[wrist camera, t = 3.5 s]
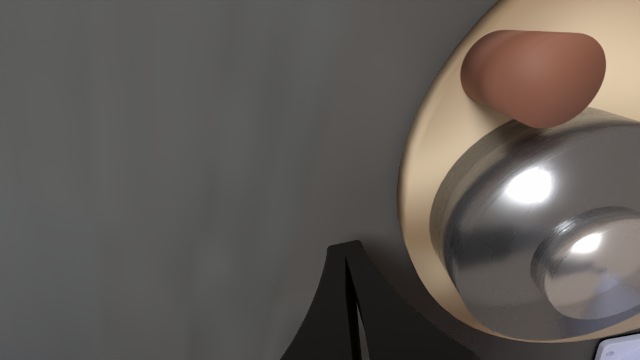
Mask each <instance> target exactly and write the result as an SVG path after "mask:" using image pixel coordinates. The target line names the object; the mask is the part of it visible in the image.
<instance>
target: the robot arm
mask: <svg viewBox="0 0 640 360" xmlns="http://www.w3.org/2000/svg"><path fill="white" fill-rule="evenodd" d="M356 302H357V304H356ZM357 305H358V309H359V312H360V316H361V319H362V322H363V326H364V329H365V334H366V340H367V345H368V351H369V356H370V360H480V358H479V357H478V356H477V355H476V354H475V353H474V352H473V351H471V350H469V349H468V348H466V347H465V346H463V345H461V344H460V343H458V342H457V341H455V340H454V339H452V338H451V337H449V336H448V335H447V334H445V333H444V332H442V331H441V330H440V329H438V328H437V327H436V326H434V325H433V324H432V323H431V322H429V321H428V320H427V319H426V318H424V317H423V316H422V315H421V314H420V313H418V312H417V311H416V310H415V309H414V308H413V307H412V306H411V305H409V304H408V303H407V302H406V301H405V300H404V299H403V298H402V297H401V296H400V295H399V294H398V293H397V292H396V291H395V290H394V289H393V287H392V286H391V285H390V284H389V283H388V282H387V281H386V279H385V278H384V277H383V276H382V275H381V273H380V272H379V271H378V269H377V268H376V267H375V265H374V264H373V263H372V261H371V260H370V258H369V257H368V255H367V253H366V252H365V250H364V248H363V246H362V244H361V242H360V241H359V240H355V241H351V242H346V243H341V244H336V245H331V246H329V247H328V248H327V256H326V261H325V265H324V269H323V273H322V276H321V279H320V283H319V286H318V288H317V291H316V294H315V296H314V299H313V301H312V304H311V306H310V308H309V311H308V313H307V315H306V317H305V319H304V321H303V323H302V325H301V327H300V328H299V330H298V332H297V334H296V336H295V337H294V339H293V341H292V342H291V344H290V346H289V347H288V349H287V350H286V352H285V353H284V355H283V356H282V358H281V359H280V360H362V357H361V348H360V337H359V326H358V315H357ZM595 360H640V334H634V335H628V336H623V337H617V338H611V339H606V340H604V341H602V342H601V343H600V344H599V347H598V350H597V353H596V357H595Z"/></svg>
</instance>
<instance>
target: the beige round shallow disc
mask: <svg viewBox="0 0 640 360" xmlns="http://www.w3.org/2000/svg"><path fill="white" fill-rule="evenodd" d="M586 107H592V108H596V109H599V110H603V111H606V112H610V113H613V114H616V115H620V116H623V117H626V118H630V119H633V120H637V121H640V0H499V1H498V2H497V3H496V4H495V5H494V6H493V7H492V8H490V9H489V10H488V11H487V12H486V13H485V14H484V15H483V16H482V17H481V18H480V20H479V21H478V22H477V23H476V24H475V25H474V27H473V28H472V29H471V30H470V31H469V33H468V34H467V35H466V36H465V37H464V38H463V40H462V41H461V42H460V43H459V44H458V46H457V47H456V48H455V49H454V51H453V52H452V54H451V55H450V57H449V58H448V60H447V61H446V63H445V64H444V65H443V67H442V68H441V70H440V71H439V73H438V74H437V76H436V77H435V79H434V80H433V82H432V84H431V86H430V88H429V90H428V92H427V94H426V95H425V97H424V99H423V101H422V103H421V105H420V107H419V109H418V111H417V113H416V116H415V118H414V121H413V124H412V126H411V129H410V131H409V134H408V137H407V139H406V143H405V147H404V151H403V155H402V159H401V163H400V167H399V176H398V186H397V210H398V219H399V224H400V229H401V234H402V238H403V240H404V243H405V245H406V248H407V251H408V253H409V256H410V258H411V260H412V262H413V264H414V267H415V269H416V271H417V273H418V276H419V277H420V279H421V281H422V282H423V284H424V285H425V287H426V289H427V290H428V292H429V293H430V294H431V295H432V297H433V298H434V299H435V300H436V301H437V302H438V303H439V304H440V305H441V307H443V308H444V309H445V310H446V311H448V312H449V313H450V314H452V315H453V316H454V317H455V318H457V319H459V320H460V321H462V322H464V323H466V324H467V325H469V326H471V327H473V328H475V329H478V330H481V331H483V332H486V333H488V334H491V335H495V336H499V337H503V338H507V339H512V340H519V341H527V342H545V343H556V342H574V341H581V340H589V339H596V338H601V337H606V336H610V335H615V334H620V333H624V332H627V331H631V330H634V329H637V328H640V313H638V314H637V315H635V316H633V317H631V318H629V319H627V320H624V321H622V322H620V323H618V324H616V325H613V326H610V327H608V328H605V329H602V330H599V331H596V332H593V333H589V334H586V335H582V336H577V337H572V338H567V339H559V340H547V341H534V340H522V339H515V338H511V337H507V336H504V335H501V334H499V333H496V332H494V331H492V330H490V329H488V328H487V327H485V326H483V325H482V324H481V323H480V322H478V321H477V320H476V319H475V318H474V317H473V316H472V314H471V313H470V312H469V311H468V309H467V307H466V306H465V304H464V302H463V300H462V298H461V297H460V295H459V293H458V291H457V290H456V288H455V286H454V284H453V283H452V281H451V279H450V277H449V276H448V274H447V272H446V270H445V268H444V267H443V265H442V263H441V261H440V260H439V258H438V256H437V254H436V252H435V251H434V248H433V245H432V242H431V238H430V232H429V218H430V212H431V207H432V204H433V201H434V198H435V195H436V193H437V191H438V188H439V186H440V184H441V182H442V181H443V179H444V178H445V176H446V174H447V173H448V171H449V170H450V169H451V167H452V166H453V165H454V164H455V162H456V161H457V160H458V159H459V158H460V157H461V156H462V155H463V154H464V153H465V152H466V151H467V150H468V149H469V148H470V147H471V146H472V145H473V144H475V143H476V142H477V141H478V140H479V139H481V138H482V137H483V136H485V135H486V134H488V133H489V132H491V131H492V130H494V129H495V128H497V127H499V126H501V125H502V124H504V123H506V122H508V121H510V120H512V119H515V120H517V121H519V122H521V123H523V124H526V125H528V126H530V127H534V128H551V127H555V126H559V125H561V124H564V123H566V122H568V121H570V120H571V119H573V118H574V117H576V116H577V115H579V114H580V113H581V112H582V111H583V110H584V109H585V108H586Z"/></svg>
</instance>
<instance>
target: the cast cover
mask: <svg viewBox="0 0 640 360" xmlns="http://www.w3.org/2000/svg"><path fill="white" fill-rule="evenodd" d="M429 232H430V238H431V242H432V245H433V248H434V251H435V252H436V254H437V256H438V258H439V260H440V261H441V263H442V265H443V267H444V268H445V270H446V272H447V274H448V276H449V277H450V279H451V281H452V283H453V284H454V286H455V288H456V290H457V291H458V293H459V295H460V297H461V298H462V300H463V302H464V304H465V306H466V307H467V309H468V311H469V312H470V313H471V314H472V316H473V317H474V318H475V319H476V320H477V321H478V322H480V323H481V324H482V325H483V326H485V327H487V328H488V329H490V330H492V331H494V332H496V333H499V334H501V335H504V336H507V337H511V338H515V339H522V340H534V341H547V340H559V339H567V338H572V337H577V336H582V335H586V334H589V333H593V332H596V331H599V330H602V329H605V328H608V327H610V326H613V325H616V324H618V323H620V322H622V321H624V320H627V319H629V318H631V317H633V316H635V315H637V314H638V313H640V121H637V120H633V119H630V118H626V117H623V116H620V115H616V114H613V113H610V112H606V111H603V110H599V109H596V108H592V107H586V108H585V109H584V110H583V111H582V112H581V113H580V114H579V115H577V116H576V117H574V118H573V119H571V120H570V121H568V122H566V123H564V124H561V125H559V126H555V127H551V128H534V127H530V126H528V125H526V124H523V123H521V122H519V121H517V120H515V119H512V120H510V121H508V122H506V123H504V124H502V125H501V126H499V127H497V128H495V129H494V130H492V131H491V132H489V133H488V134H486V135H485V136H483V137H482V138H481V139H479V140H478V141H477V142H476V143H475V144H473V145H472V146H471V147H470V148H469V149H468V150H467V151H466V152H465V153H464V154H463V155H462V156H461V157H460V158H459V159H458V160H457V161H456V162H455V164H454V165H453V166H452V167H451V169H450V170H449V171H448V173H447V174H446V176H445V178H444V179H443V181H442V182H441V184H440V186H439V188H438V191H437V193H436V195H435V198H434V201H433V204H432V207H431V212H430V218H429Z"/></svg>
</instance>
